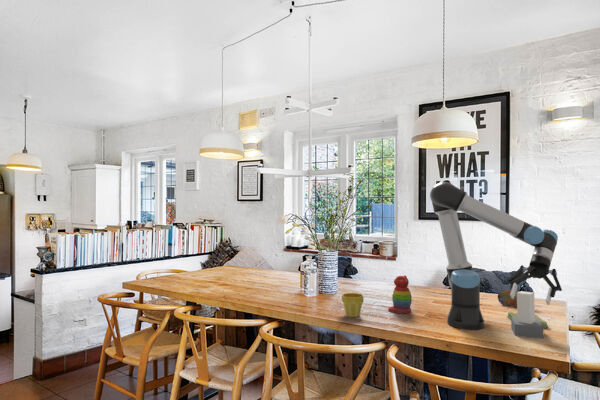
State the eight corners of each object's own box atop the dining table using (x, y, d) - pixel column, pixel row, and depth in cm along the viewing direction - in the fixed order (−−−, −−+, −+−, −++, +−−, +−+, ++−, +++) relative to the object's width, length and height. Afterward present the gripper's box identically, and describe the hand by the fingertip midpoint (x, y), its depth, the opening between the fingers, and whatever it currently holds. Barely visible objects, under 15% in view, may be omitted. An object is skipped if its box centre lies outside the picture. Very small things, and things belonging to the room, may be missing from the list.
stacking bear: (401, 307, 206) (401, 273, 206) (416, 311, 197) (416, 276, 198) (386, 310, 200) (386, 275, 200) (401, 315, 191) (401, 278, 192)
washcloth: (535, 318, 187) (535, 311, 187) (549, 330, 170) (549, 322, 170) (505, 316, 190) (505, 310, 191) (516, 327, 173) (516, 320, 173)
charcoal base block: (515, 336, 161) (514, 324, 162) (511, 329, 171) (511, 317, 171) (543, 339, 158) (543, 326, 158) (537, 331, 167) (537, 319, 167)
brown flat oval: (497, 304, 212) (497, 288, 213) (499, 303, 215) (499, 288, 215) (529, 309, 202) (529, 293, 202) (530, 308, 204) (530, 292, 205)
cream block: (530, 324, 161) (529, 294, 161) (517, 321, 165) (516, 292, 165) (535, 321, 164) (534, 292, 165) (522, 319, 168) (521, 291, 168)
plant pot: (338, 313, 194) (338, 293, 194) (356, 311, 198) (356, 291, 198) (348, 319, 184) (348, 298, 184) (367, 316, 188) (367, 296, 188)
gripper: (576, 268, 167) (566, 310, 157) (513, 262, 186) (500, 299, 176) (572, 257, 164) (561, 299, 154) (508, 252, 182) (495, 289, 172)
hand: (529, 299), depth 165 cm, fingers open, 13 cm apart
